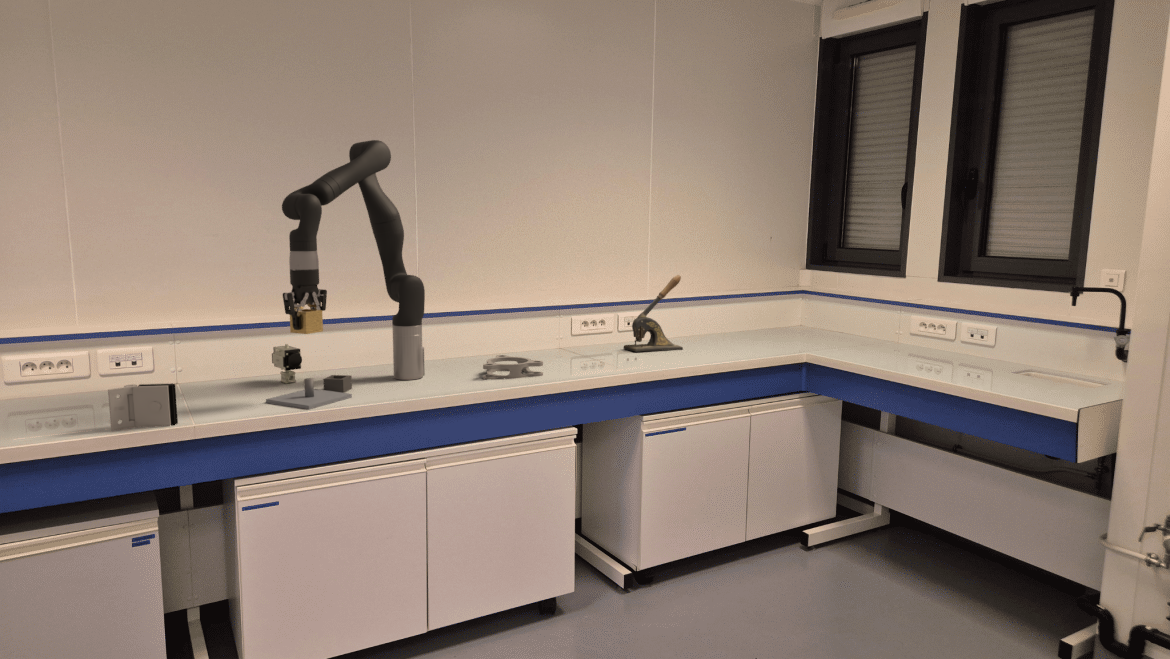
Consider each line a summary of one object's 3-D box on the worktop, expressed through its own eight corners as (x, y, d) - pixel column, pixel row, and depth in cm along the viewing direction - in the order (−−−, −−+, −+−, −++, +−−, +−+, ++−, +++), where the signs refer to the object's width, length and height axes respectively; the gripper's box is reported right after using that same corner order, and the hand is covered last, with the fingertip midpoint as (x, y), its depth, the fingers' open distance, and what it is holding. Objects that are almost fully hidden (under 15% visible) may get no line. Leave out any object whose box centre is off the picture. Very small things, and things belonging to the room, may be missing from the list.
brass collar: (307, 329, 213) (306, 308, 212) (323, 331, 210) (322, 310, 210) (290, 332, 208) (289, 310, 207) (306, 334, 205) (305, 312, 204)
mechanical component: (485, 381, 241) (485, 366, 240) (471, 371, 258) (471, 356, 257) (545, 377, 248) (545, 362, 247) (528, 367, 265) (528, 353, 265)
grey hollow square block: (332, 387, 227) (332, 374, 227) (351, 388, 227) (351, 375, 226) (323, 392, 221) (323, 378, 221) (343, 392, 221) (343, 379, 220)
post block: (310, 391, 222) (309, 371, 221) (351, 397, 215) (351, 376, 214) (266, 402, 208) (265, 381, 207) (309, 409, 201) (308, 387, 200)
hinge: (110, 431, 178) (107, 390, 177) (114, 426, 183) (111, 385, 182) (176, 425, 184) (173, 385, 183) (179, 420, 189) (176, 381, 187)
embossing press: (621, 349, 305) (623, 274, 300) (673, 345, 314) (675, 273, 310) (634, 353, 295) (635, 276, 290) (686, 350, 304) (688, 275, 300)
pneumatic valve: (287, 378, 240) (286, 341, 239) (303, 384, 232) (302, 345, 231) (270, 380, 237) (268, 343, 235) (286, 386, 228) (284, 347, 227)
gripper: (314, 266, 215) (316, 324, 217) (273, 268, 202) (276, 330, 204) (333, 266, 211) (335, 326, 214) (293, 269, 199) (296, 332, 201)
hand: (306, 328), depth 209 cm, fingers closed on brass collar, 6 cm apart
